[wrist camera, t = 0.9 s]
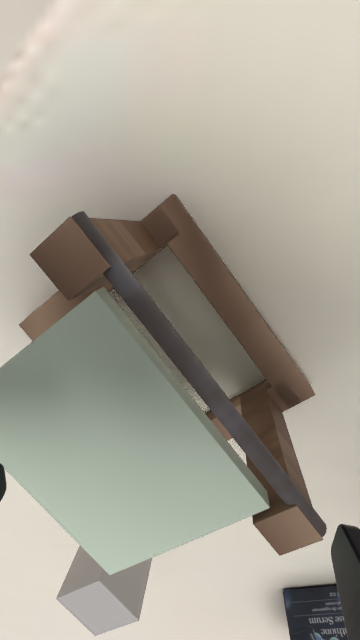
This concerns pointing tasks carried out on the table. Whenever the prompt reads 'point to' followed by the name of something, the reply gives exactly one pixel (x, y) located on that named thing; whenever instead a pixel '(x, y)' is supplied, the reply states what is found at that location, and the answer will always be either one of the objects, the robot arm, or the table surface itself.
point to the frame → (237, 312)
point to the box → (314, 614)
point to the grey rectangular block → (103, 593)
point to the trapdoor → (117, 441)
